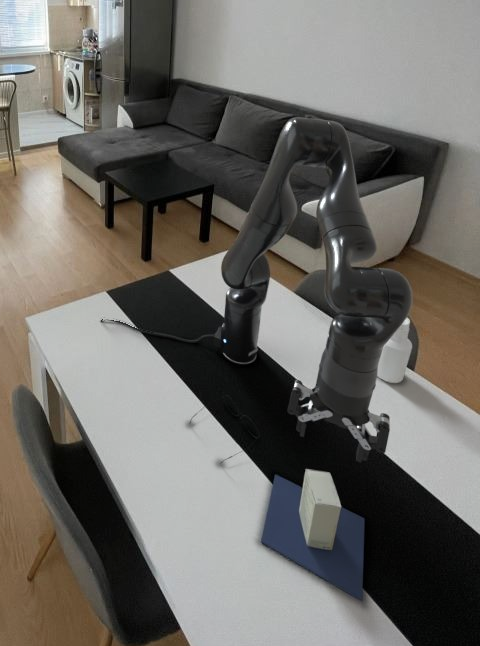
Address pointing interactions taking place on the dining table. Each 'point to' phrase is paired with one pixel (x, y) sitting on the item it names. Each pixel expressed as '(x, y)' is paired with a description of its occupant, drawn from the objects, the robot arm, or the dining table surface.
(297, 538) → the cloth
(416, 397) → the dining table surface
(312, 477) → the cosmetic box
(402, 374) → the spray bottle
